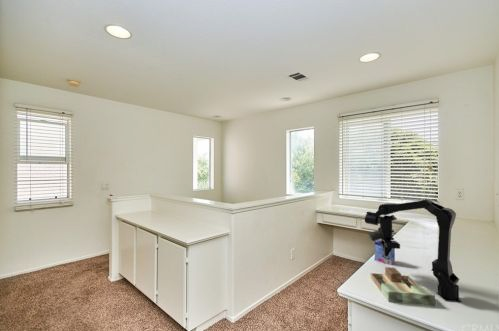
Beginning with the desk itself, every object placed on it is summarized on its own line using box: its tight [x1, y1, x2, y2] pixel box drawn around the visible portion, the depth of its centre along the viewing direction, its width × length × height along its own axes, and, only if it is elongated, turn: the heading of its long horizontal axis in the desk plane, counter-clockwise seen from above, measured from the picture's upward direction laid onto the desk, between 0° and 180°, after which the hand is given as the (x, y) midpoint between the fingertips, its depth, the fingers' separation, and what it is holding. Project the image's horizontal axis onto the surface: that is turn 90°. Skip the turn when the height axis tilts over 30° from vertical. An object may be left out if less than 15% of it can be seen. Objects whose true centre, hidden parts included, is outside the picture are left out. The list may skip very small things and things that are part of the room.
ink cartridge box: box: [374, 239, 396, 266], centre depth 144 cm, size 10×6×14 cm, turn 40°
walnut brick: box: [384, 267, 402, 282], centre depth 117 cm, size 4×7×4 cm, turn 171°
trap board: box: [370, 272, 436, 307], centre depth 110 cm, size 18×22×4 cm
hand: (386, 256), depth 125 cm, fingers closed
